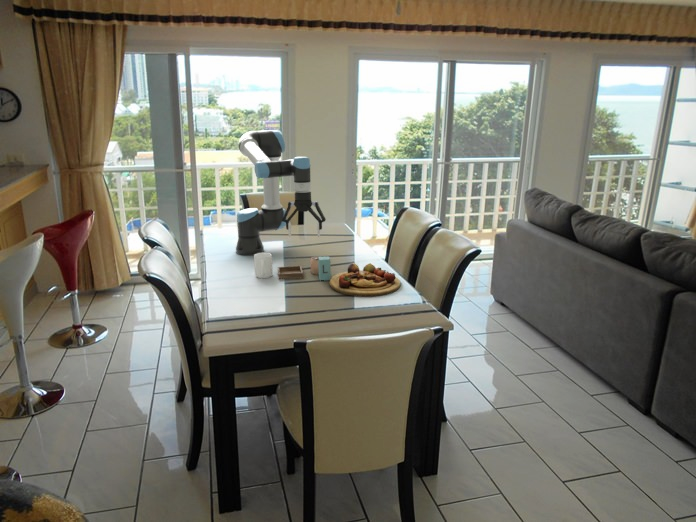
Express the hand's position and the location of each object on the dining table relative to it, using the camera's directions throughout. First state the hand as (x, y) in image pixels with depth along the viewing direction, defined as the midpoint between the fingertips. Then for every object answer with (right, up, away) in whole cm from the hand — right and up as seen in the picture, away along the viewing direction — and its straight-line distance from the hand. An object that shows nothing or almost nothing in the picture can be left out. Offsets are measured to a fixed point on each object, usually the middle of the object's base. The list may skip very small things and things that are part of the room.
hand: (304, 236), depth 248 cm
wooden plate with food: (+28, -23, -10) cm, 38 cm away
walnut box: (-7, -18, +4) cm, 20 cm away
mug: (-19, -19, +1) cm, 27 cm away
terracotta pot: (+6, -17, +7) cm, 19 cm away
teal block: (+10, -20, -2) cm, 22 cm away
